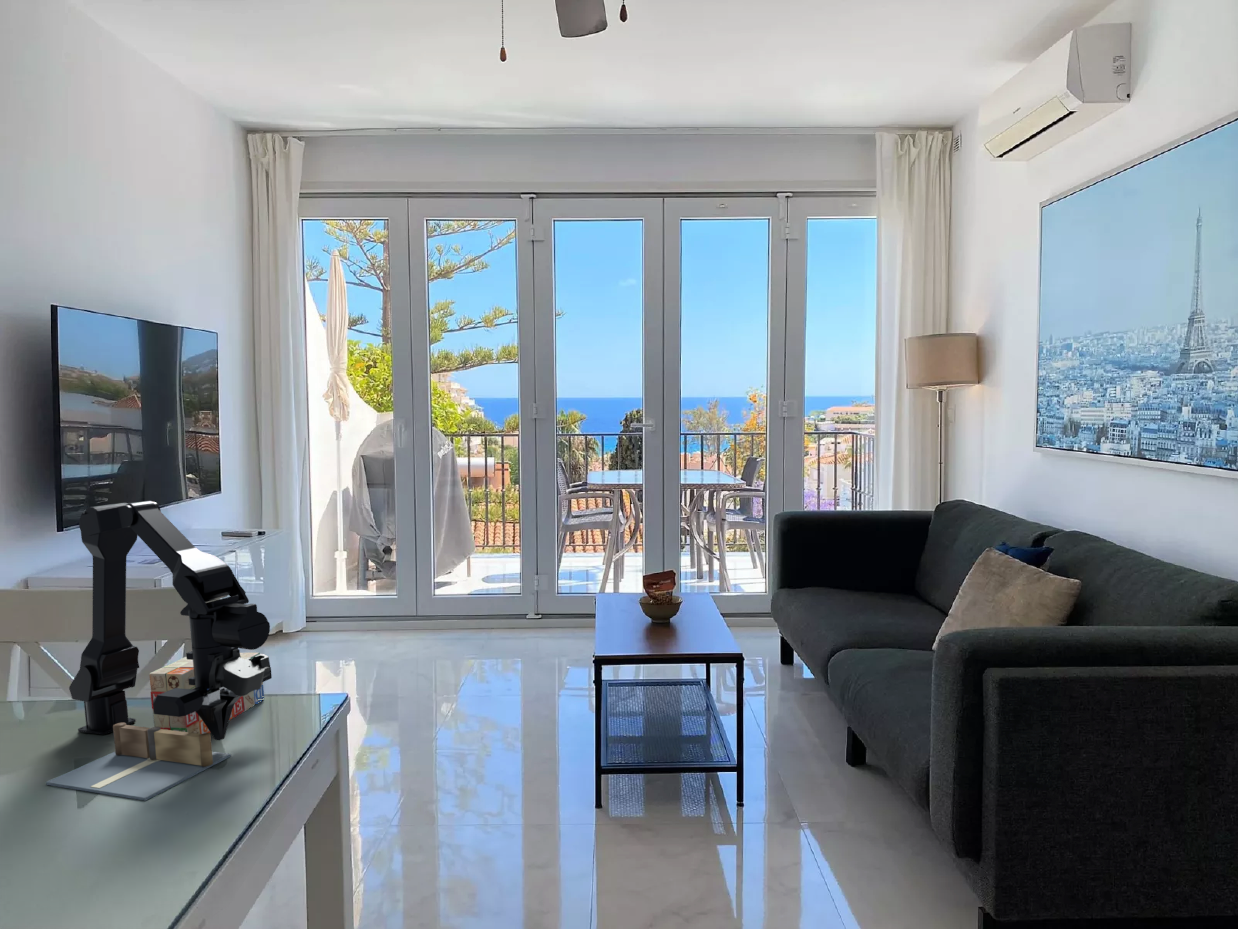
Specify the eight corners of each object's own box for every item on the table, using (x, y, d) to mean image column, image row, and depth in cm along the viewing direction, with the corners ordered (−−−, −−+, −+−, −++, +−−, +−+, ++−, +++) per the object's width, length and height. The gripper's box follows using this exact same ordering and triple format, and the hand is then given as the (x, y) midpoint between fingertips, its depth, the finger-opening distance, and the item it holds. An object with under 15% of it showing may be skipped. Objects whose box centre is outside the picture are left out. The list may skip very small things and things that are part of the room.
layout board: (46, 784, 128) (45, 781, 128) (137, 744, 142) (137, 741, 142) (145, 800, 121) (145, 797, 121) (230, 756, 135) (230, 753, 135)
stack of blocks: (235, 700, 163) (230, 636, 162) (265, 700, 162) (260, 636, 161) (154, 745, 142) (148, 672, 141) (188, 746, 141) (181, 672, 140)
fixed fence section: (112, 754, 137) (110, 726, 137) (122, 749, 139) (120, 722, 138) (145, 758, 134) (143, 730, 134) (155, 754, 136) (153, 726, 136)
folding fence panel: (147, 759, 134) (144, 730, 134) (157, 754, 136) (154, 726, 136) (206, 767, 130) (203, 737, 130) (215, 762, 132) (213, 733, 131)
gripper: (203, 664, 124) (212, 769, 126) (294, 630, 142) (301, 722, 143) (146, 659, 128) (155, 761, 130) (241, 627, 146) (248, 716, 147)
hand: (219, 739), depth 137 cm, fingers closed
